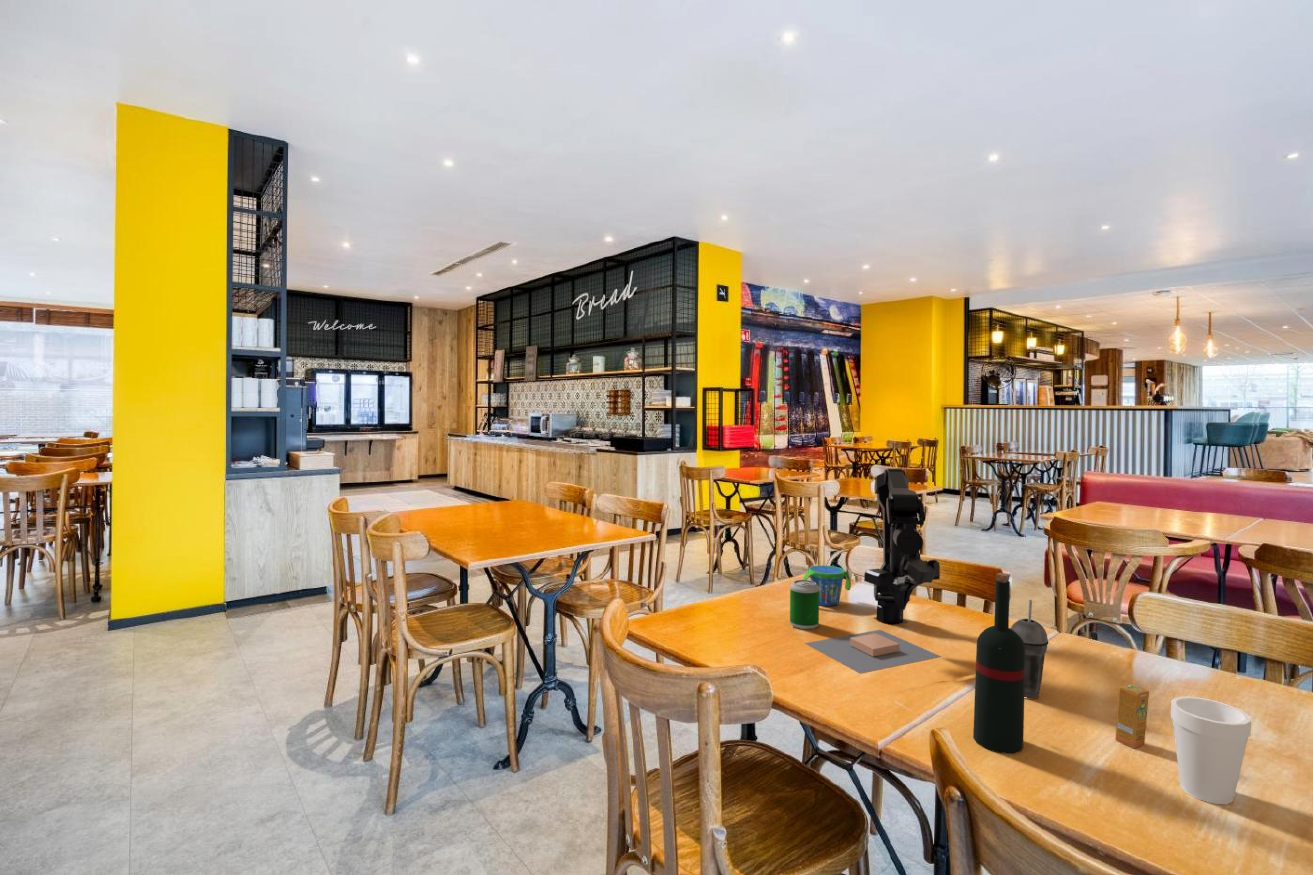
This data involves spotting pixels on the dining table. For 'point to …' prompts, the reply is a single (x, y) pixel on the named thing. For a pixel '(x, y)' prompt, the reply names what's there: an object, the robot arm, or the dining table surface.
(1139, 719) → the supplement box
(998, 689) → the wine bottle
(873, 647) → the terracotta tile
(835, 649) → the slate mat
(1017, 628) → the beverage cup
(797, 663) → the dining table surface
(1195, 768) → the foam cup
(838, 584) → the snack cup
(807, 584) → the soda can
